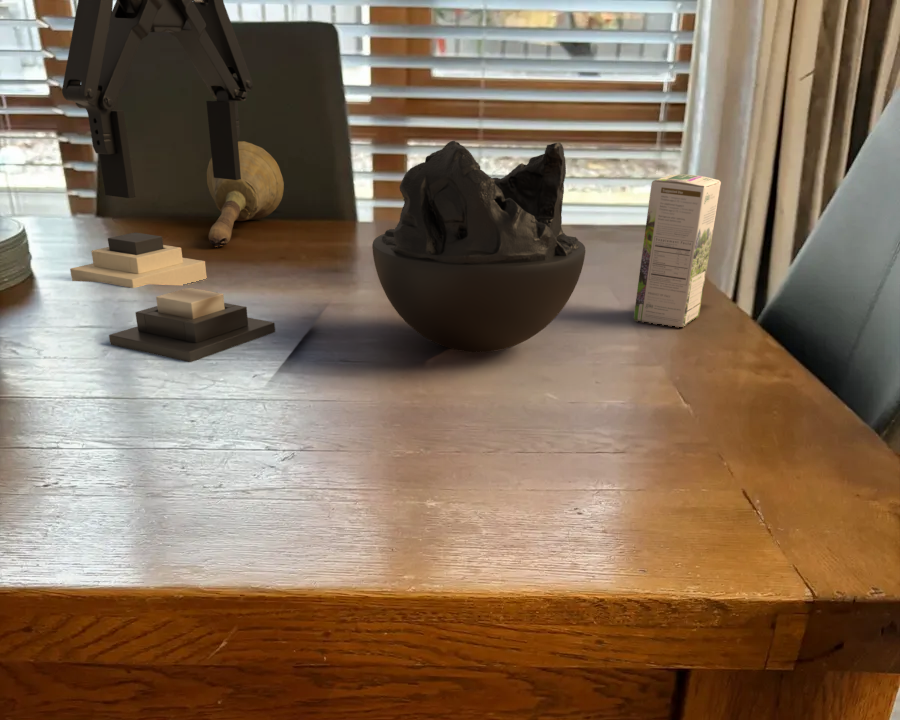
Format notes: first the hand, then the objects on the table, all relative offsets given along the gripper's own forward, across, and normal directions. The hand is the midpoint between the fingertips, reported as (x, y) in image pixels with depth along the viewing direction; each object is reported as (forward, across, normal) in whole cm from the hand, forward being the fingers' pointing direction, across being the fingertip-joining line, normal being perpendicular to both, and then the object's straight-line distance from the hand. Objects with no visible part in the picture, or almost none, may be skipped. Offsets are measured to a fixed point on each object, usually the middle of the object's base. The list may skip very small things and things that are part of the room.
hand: (177, 187), depth 87 cm
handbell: (+15, +49, +34) cm, 61 cm away
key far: (+11, +17, +24) cm, 32 cm away
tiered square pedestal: (+15, 0, 0) cm, 15 cm away
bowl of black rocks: (+15, +15, -23) cm, 31 cm away
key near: (+11, 0, 0) cm, 11 cm away
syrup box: (+15, +36, -35) cm, 53 cm away
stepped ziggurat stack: (+15, +17, +24) cm, 33 cm away
